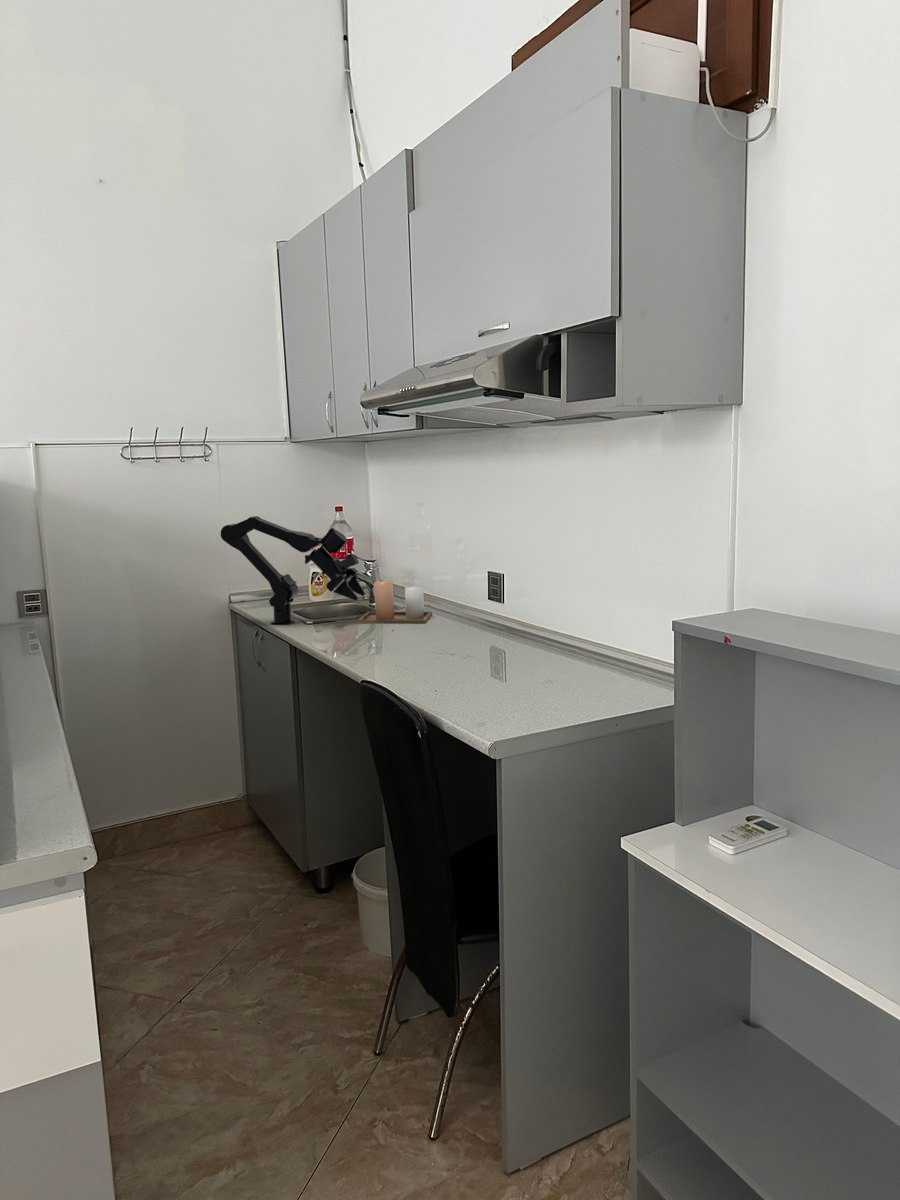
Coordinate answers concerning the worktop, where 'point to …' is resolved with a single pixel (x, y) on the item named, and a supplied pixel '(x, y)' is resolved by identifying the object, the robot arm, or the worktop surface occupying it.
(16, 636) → the worktop surface
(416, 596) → the white rounded cylinder
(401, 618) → the walnut tray
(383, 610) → the peach tapered cylinder
